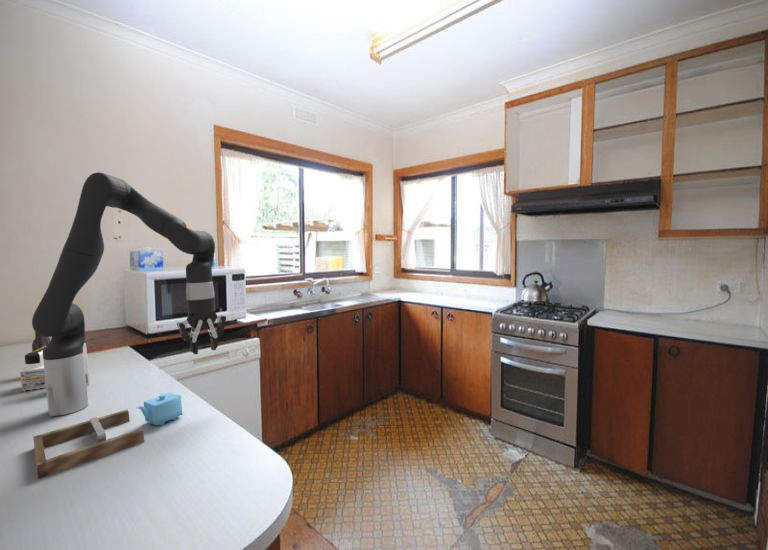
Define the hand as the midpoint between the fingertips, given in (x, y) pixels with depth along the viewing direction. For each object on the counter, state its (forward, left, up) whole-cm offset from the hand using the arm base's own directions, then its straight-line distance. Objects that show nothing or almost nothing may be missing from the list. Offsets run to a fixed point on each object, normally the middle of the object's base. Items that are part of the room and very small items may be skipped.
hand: (204, 351), depth 110 cm
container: (-35, +67, -18) cm, 78 cm away
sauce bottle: (-33, +84, -18) cm, 92 cm away
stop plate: (-27, 0, -17) cm, 32 cm away
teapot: (-13, 0, -18) cm, 22 cm away
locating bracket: (-29, 0, -17) cm, 34 cm away
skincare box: (-27, +56, -18) cm, 65 cm away
